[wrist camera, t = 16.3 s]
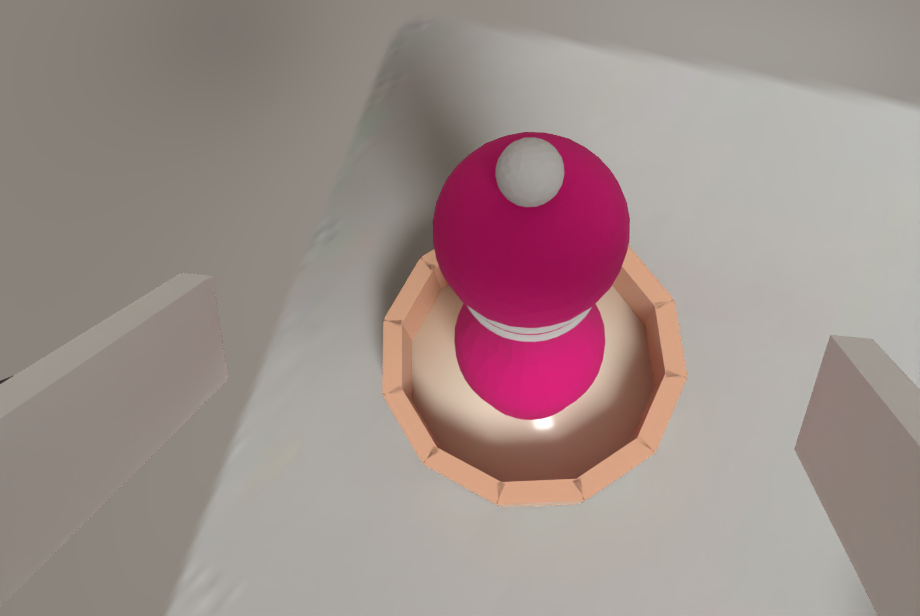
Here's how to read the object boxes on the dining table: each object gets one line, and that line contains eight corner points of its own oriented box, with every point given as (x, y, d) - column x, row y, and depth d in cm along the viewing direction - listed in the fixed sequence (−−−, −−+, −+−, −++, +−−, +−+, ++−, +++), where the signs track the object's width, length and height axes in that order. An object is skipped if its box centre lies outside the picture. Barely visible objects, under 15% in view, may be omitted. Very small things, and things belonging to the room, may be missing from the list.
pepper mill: (623, 366, 33) (747, 149, 14) (527, 458, 32) (526, 353, 13) (529, 278, 35) (532, -6, 17) (436, 361, 34) (328, 156, 16)
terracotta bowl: (724, 405, 33) (749, 389, 29) (489, 565, 31) (483, 568, 28) (561, 205, 38) (564, 169, 34) (353, 333, 37) (333, 310, 33)
